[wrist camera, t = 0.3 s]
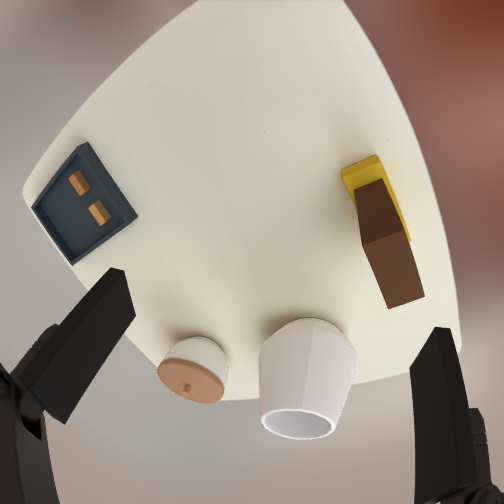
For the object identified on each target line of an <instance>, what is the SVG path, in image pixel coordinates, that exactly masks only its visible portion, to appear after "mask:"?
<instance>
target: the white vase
mask: <svg viewBox="0 0 504 504" xmlns="http://www.w3.org/2000/svg"><path fill="white" fill-rule="evenodd" d="M356 368H357V354H356V351H355V349H354V348H353V346H352V345H351V343H350V342H349V340H348V339H347V338H346V337H345V336H344V335H343V333H342V332H341V331H340V330H339V329H338V328H337V327H336V326H334V325H332V324H331V323H329V322H328V321H324V320H320V319H316V318H301V319H298V320H295V321H292V322H290V323H288V324H287V325H285V326H284V327H282V328H281V329H279V330H278V331H276V332H275V333H274V334H273V335H272V336H270V337H269V338H268V339H267V340H266V341H265V342H264V344H263V345H262V349H261V352H260V355H259V387H260V420H261V422H262V424H263V426H264V427H265V428H267V429H268V430H269V431H271V432H272V433H275V434H277V435H280V436H282V437H287V438H292V439H302V440H309V439H317V438H321V437H324V436H327V435H329V434H330V433H332V432H333V431H334V430H335V427H336V425H337V422H338V420H339V417H340V415H341V412H342V409H343V407H344V404H345V402H346V399H347V396H348V393H349V390H350V388H351V385H352V382H353V379H354V376H355V373H356Z"/></svg>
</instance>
